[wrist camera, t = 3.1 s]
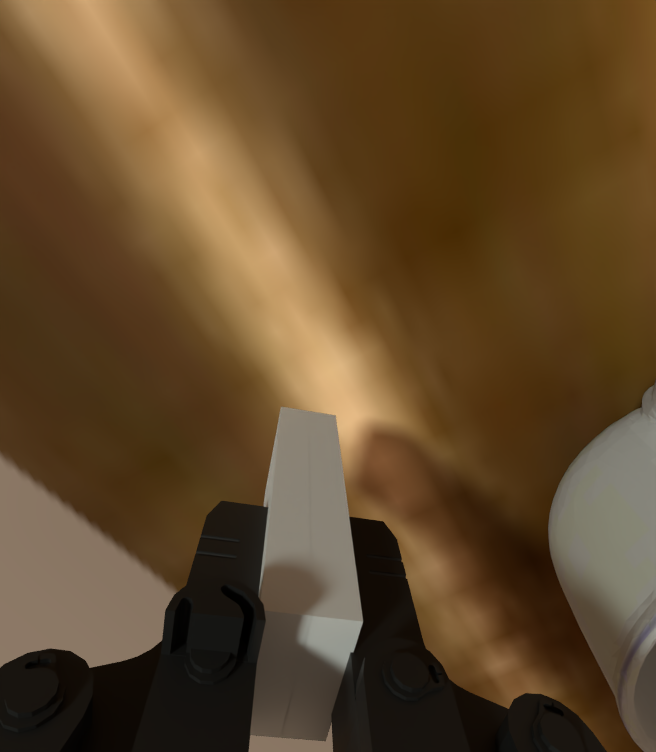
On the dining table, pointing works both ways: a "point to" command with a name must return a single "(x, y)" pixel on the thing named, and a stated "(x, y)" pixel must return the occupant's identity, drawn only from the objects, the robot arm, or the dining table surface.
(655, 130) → the dining table surface
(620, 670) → the teacup
